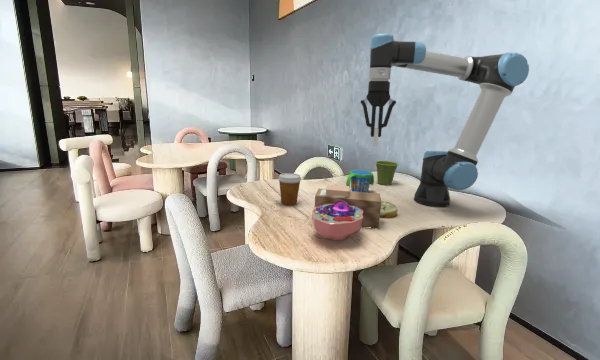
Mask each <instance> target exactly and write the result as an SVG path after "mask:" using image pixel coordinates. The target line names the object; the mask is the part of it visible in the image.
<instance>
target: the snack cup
mask: <svg viewBox="0 0 600 360" xmlns="http://www.w3.org/2000/svg"><path fill="white" fill-rule="evenodd" d="M374 184H375V177H374V174H373V172H371V171H369V170H364V169H353V170H349V174H348V177H347V179H346V183H345V186H349V189H351V190H350V191H354V192H366V193H369V192H368V191H369V188H370V186H371V185H372V186H373V185H374Z"/></svg>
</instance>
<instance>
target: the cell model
mask: <svg viewBox="0 0 600 360" xmlns="http://www.w3.org/2000/svg"><path fill="white" fill-rule="evenodd" d="M311 218H312V219H311V220H312V224H313V227H314V230H315V231H316V232H317V233H318V234H319V235H320V236H322V237H323V238H325V239H329V240H334V241H344V240H345V239H347V238H350V237H353V236H355V235H356V234H357V233H358V232H360V231H361V229H362V228H363V227H362V220H363V210H362V209H360V208H358V207H355V206H350V205H349V204H348V203H347V202H345V201H337V202H335V204H323V205H320V206H316V207H315V206H314V208H313V209H312V211H311Z"/></svg>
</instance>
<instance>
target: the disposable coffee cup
mask: <svg viewBox="0 0 600 360" xmlns="http://www.w3.org/2000/svg"><path fill="white" fill-rule="evenodd" d="M277 179H278V182H279V190H280V191H279V193H280V203H281V205H283V206H288V207H289V206H290V207H291V206H295V205H297V202H298V196H299V191H300V184H301V181H302V177H301V175H300V174H298V173H291V172H290V173H289V172H288V173H287V172H284V173H280V174H279V176H278V177H277Z"/></svg>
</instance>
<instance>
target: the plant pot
mask: <svg viewBox="0 0 600 360" xmlns="http://www.w3.org/2000/svg"><path fill="white" fill-rule="evenodd" d="M374 163H375V165H376V175H377V177H376V178H377V184H379V185H381V186H391V185H392V183H393V179H394V177H395V174H396V170H397V168H398V166H399V163H397V162H395V161H388V160H376V161H375V162H374Z"/></svg>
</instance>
